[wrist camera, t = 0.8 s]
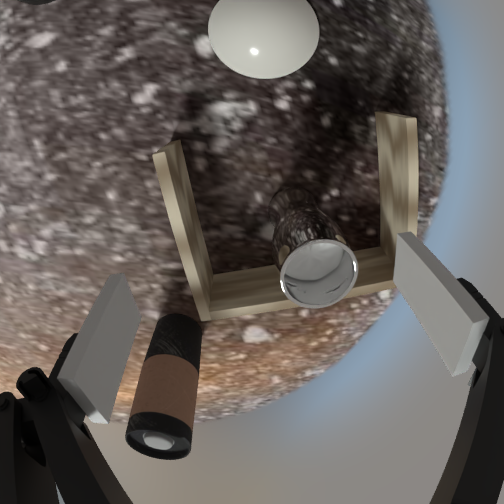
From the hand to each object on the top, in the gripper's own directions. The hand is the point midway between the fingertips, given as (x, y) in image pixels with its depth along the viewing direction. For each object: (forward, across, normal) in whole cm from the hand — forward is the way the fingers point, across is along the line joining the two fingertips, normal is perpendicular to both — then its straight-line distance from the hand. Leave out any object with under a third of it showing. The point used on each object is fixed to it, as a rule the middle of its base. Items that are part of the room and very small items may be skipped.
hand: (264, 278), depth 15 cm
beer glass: (+24, +4, -7) cm, 26 cm away
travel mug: (+24, -14, -23) cm, 36 cm away
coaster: (+24, +4, +15) cm, 29 cm away
